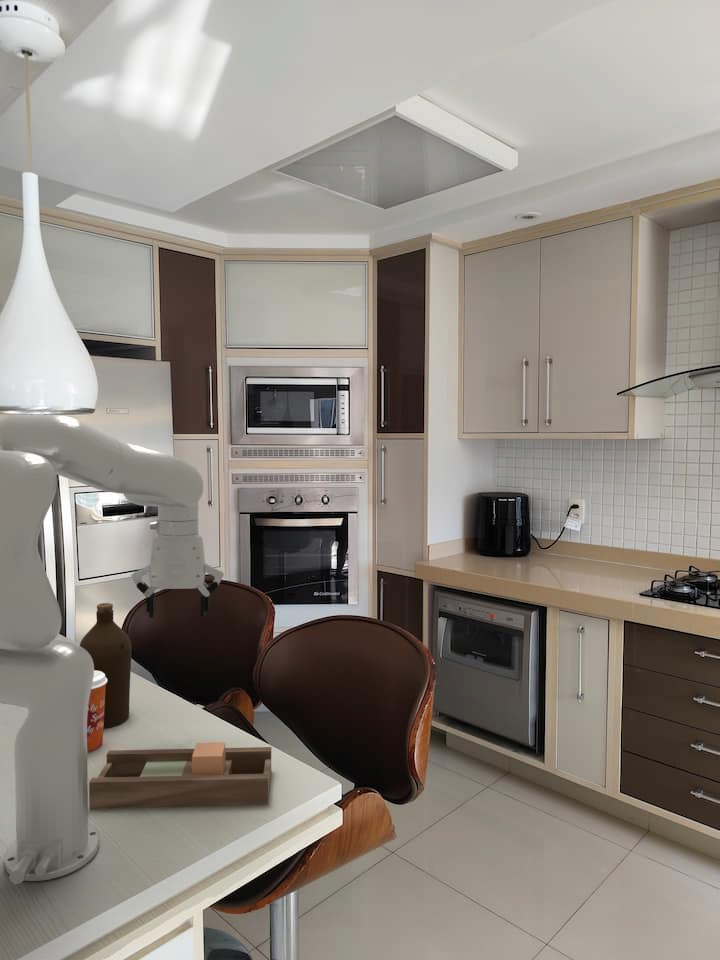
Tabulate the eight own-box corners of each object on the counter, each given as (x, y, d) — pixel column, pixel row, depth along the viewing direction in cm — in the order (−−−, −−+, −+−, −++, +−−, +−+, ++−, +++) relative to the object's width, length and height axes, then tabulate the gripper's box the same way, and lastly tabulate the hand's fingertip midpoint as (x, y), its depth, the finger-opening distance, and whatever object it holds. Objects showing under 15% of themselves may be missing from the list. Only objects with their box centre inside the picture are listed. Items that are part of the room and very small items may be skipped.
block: (221, 778, 113) (221, 756, 113) (191, 779, 113) (191, 756, 112) (225, 764, 118) (225, 742, 118) (196, 764, 118) (196, 742, 117)
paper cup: (93, 757, 126) (92, 685, 125) (57, 752, 127) (56, 681, 126) (116, 738, 133) (115, 670, 132) (82, 734, 135) (81, 667, 134)
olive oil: (137, 708, 148) (137, 598, 146) (124, 730, 137) (123, 611, 136) (88, 709, 147) (87, 598, 145) (71, 730, 137) (69, 611, 135)
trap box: (267, 804, 111) (267, 778, 111) (89, 809, 109) (89, 782, 108) (271, 770, 122) (271, 747, 122) (109, 774, 120) (109, 750, 119)
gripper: (127, 531, 123) (127, 621, 124) (222, 531, 125) (221, 620, 126) (136, 525, 131) (136, 611, 132) (225, 526, 133) (224, 610, 134)
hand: (178, 615), depth 129 cm, fingers open, 9 cm apart
